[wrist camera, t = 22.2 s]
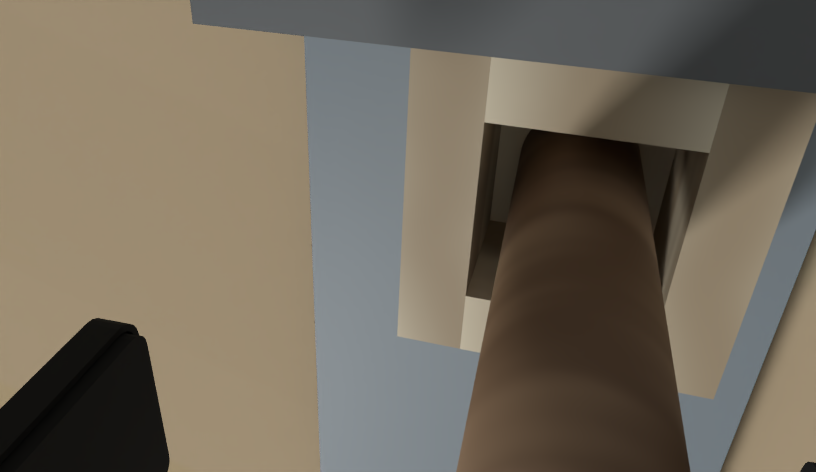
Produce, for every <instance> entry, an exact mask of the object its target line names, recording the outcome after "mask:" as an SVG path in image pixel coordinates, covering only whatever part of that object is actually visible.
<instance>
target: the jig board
mask: <svg viewBox="0 0 816 472" xmlns="http://www.w3.org/2000/svg"><path fill="white" fill-rule="evenodd" d="M190 3H191V12H192V20H193V24H202V25H211V26H220V27H229V28H237V29H246V30H255V31H264V32H273V33H282V34H291V35H300V36H304V42H305V69H306V96H307V122H308V149H309V176H310V203H311V229H312V256H313V283H314V310H315V336H316V363H317V390H318V417H319V443H320V470H321V472H456V470H457V465H458V460H459V456H460V451H461V446H462V441H463V436H464V431H465V426H466V421H467V416H468V411H469V406H470V401H471V396H472V391H473V386H474V381H475V376H476V371H477V366H478V361H479V356H480V353H478V352H473V351H468V350H463V349H458V348H454V347H449V346H444V345H439V344H434V343H429V342H424V341H419V340H414V339H409V338H404V337H399V336H397V330H398V309H399V287H400V266H401V244H402V223H403V202H404V180H405V159H406V138H407V116H408V95H409V73H410V52H411V48H415V49H424V50H433V51H442V52H451V53H460V54H469V55H478V56H487V57H495V58H504V59H513V60H522V61H531V62H540V63H549V64H558V65H567V66H576V67H584V68H593V69H602V70H611V71H620V72H629V73H638V74H647V75H656V76H664V77H673V78H682V79H691V80H700V81H709V82H718V83H727V84H736V85H745V86H753V87H762V88H771V89H780V90H789V91H798V92H807V93H816V0H190ZM815 231H816V123H815V126H814V128H813V131H812V134H811V136H810V139H809V142H808V145H807V147H806V150H805V153H804V155H803V158H802V161H801V164H800V166H799V169H798V172H797V174H796V177H795V180H794V183H793V185H792V188H791V191H790V193H789V196H788V199H787V202H786V204H785V207H784V210H783V212H782V215H781V218H780V220H779V223H778V226H777V229H776V231H775V234H774V237H773V239H772V242H771V245H770V248H769V250H768V253H767V256H766V258H765V261H764V264H763V267H762V269H761V272H760V275H759V277H758V280H757V283H756V286H755V288H754V291H753V294H752V296H751V299H750V302H749V304H748V307H747V310H746V313H745V315H744V318H743V321H742V323H741V326H740V329H739V332H738V334H737V337H736V340H735V342H734V345H733V348H732V351H731V353H730V356H729V359H728V361H727V364H726V367H725V370H724V372H723V375H722V378H721V380H720V383H719V386H718V389H717V391H716V394H715V397H714V399H708V398H703V397H698V396H693V395H688V394H683V393H678V396H679V402H680V408H681V415H682V421H683V427H684V434H685V440H686V446H687V453H688V459H689V465H690V472H720V471H721V468H722V465H723V463H724V460H725V458H726V455H727V453H728V450H729V448H730V445H731V443H732V440H733V438H734V435H735V433H736V430H737V428H738V425H739V423H740V420H741V417H742V415H743V412H744V410H745V407H746V405H747V402H748V400H749V397H750V395H751V392H752V390H753V387H754V385H755V382H756V380H757V377H758V375H759V372H760V369H761V367H762V364H763V362H764V359H765V357H766V354H767V352H768V349H769V347H770V344H771V342H772V339H773V337H774V334H775V332H776V329H777V327H778V324H779V321H780V319H781V316H782V314H783V311H784V309H785V306H786V304H787V301H788V299H789V296H790V294H791V291H792V289H793V286H794V284H795V281H796V279H797V276H798V273H799V271H800V268H801V266H802V263H803V261H804V258H805V256H806V253H807V251H808V248H809V246H810V243H811V241H812V238H813V236H814V233H815Z"/></svg>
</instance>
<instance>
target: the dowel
mask: <svg viewBox="0 0 816 472" xmlns="http://www.w3.org/2000/svg"><path fill="white" fill-rule="evenodd" d="M456 472H690V465H689V459H688V453H687V446H686V440H685V434H684V427H683V421H682V415H681V408H680V402H679V396H678V389H677V383H676V377H675V370H674V364H673V358H672V351H671V345H670V339H669V332H668V326H667V320H666V313H665V307H664V301H663V294H662V288H661V282H660V275H659V269H658V263H657V256H656V250H655V244H654V237H653V231H652V225H651V218H650V212H649V206H648V199H647V193H646V187H645V180H644V174H643V168H642V161H641V155H640V149H639V145H638V143H632V142H625V141H617V140H610V139H603V138H595V137H588V136H581V135H573V134H566V133H559V132H551V131H544V130H537V129H531V130H530V132H529V133H528V135H527V137H526V138H525V140H524V143H523V145H522V148H521V153H520V158H519V163H518V168H517V173H516V178H515V183H514V188H513V193H512V198H511V203H510V208H509V213H508V218H507V223H506V228H505V232H504V237H503V242H502V247H501V252H500V257H499V262H498V267H497V272H496V277H495V282H494V287H493V292H492V297H491V302H490V307H489V312H488V317H487V322H486V327H485V332H484V337H483V342H482V346H481V351H480V356H479V361H478V366H477V371H476V376H475V381H474V386H473V391H472V396H471V401H470V406H469V411H468V416H467V421H466V426H465V431H464V436H463V441H462V446H461V451H460V456H459V460H458V465H457V470H456Z"/></svg>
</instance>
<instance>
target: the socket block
mask: <svg viewBox="0 0 816 472" xmlns="http://www.w3.org/2000/svg"><path fill="white" fill-rule="evenodd" d="M815 123H816V93H807V92H798V91H789V90H780V89H771V88H762V87H753V86H745V85H736V84H727V83H718V82H709V81H700V80H691V79H682V78H673V77H664V76H656V75H647V74H638V73H629V72H620V71H611V70H602V69H593V68H584V67H576V66H567V65H558V64H549V63H540V62H531V61H522V60H513V59H504V58H495V57H487V56H478V55H469V54H460V53H451V52H442V51H433V50H424V49H415V48H411V52H410V73H409V95H408V116H407V138H406V159H405V180H404V202H403V223H402V244H401V266H400V287H399V309H398V330H397V336H399V337H404V338H409V339H414V340H419V341H424V342H429V343H434V344H439V345H444V346H449V347H454V348H458V349H463V350H468V351H473V352H478V353H480V351H481V346H482V342H483V337H484V332H485V327H486V322H487V317H488V312H489V307H490V302H491V297H492V292H493V287H494V282H495V277H496V272H497V267H498V262H499V257H500V252H501V247H502V242H503V237H504V232H505V228H506V223H507V218H508V213H509V208H510V203H511V198H512V193H513V188H514V183H515V178H516V173H517V168H518V163H519V158H520V153H521V148H522V145H523V143H524V140H525V138H526V137H527V135H528V133H529V132H530V130H531V129H537V130H544V131H551V132H559V133H566V134H573V135H581V136H588V137H595V138H603V139H610V140H617V141H625V142H632V143H638V145H639V149H640V155H641V161H642V168H643V174H644V180H645V187H646V193H647V199H648V206H649V212H650V218H651V225H652V231H653V237H654V244H655V250H656V256H657V263H658V269H659V275H660V282H661V288H662V294H663V301H664V307H665V313H666V320H667V326H668V332H669V339H670V345H671V351H672V358H673V364H674V370H675V377H676V383H677V389H678V393H683V394H688V395H693V396H698V397H703V398H708V399H714V397H715V394H716V391H717V389H718V386H719V383H720V380H721V378H722V375H723V372H724V370H725V367H726V364H727V361H728V359H729V356H730V353H731V351H732V348H733V345H734V342H735V340H736V337H737V334H738V332H739V329H740V326H741V323H742V321H743V318H744V315H745V313H746V310H747V307H748V304H749V302H750V299H751V296H752V294H753V291H754V288H755V286H756V283H757V280H758V277H759V275H760V272H761V269H762V267H763V264H764V261H765V258H766V256H767V253H768V250H769V248H770V245H771V242H772V239H773V237H774V234H775V231H776V229H777V226H778V223H779V220H780V218H781V215H782V212H783V210H784V207H785V204H786V202H787V199H788V196H789V193H790V191H791V188H792V185H793V183H794V180H795V177H796V174H797V172H798V169H799V166H800V164H801V161H802V158H803V155H804V153H805V150H806V147H807V145H808V142H809V139H810V136H811V134H812V131H813V128H814V126H815Z"/></svg>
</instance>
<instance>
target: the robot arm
mask: <svg viewBox="0 0 816 472" xmlns="http://www.w3.org/2000/svg"><path fill="white" fill-rule="evenodd" d="M168 467H169V453H168V448H167V442H166V437H165V432H164V427H163V422H162V417H161V412H160V407H159V402H158V397H157V392H156V387H155V381H154V376H153V371H152V366H151V361H150V356H149V351H148V346H147V342H146V339H145V338H144V337H143V336H139V333H138V331H137V328H136V327H135V326H134V325H131V324H127V323H122V322H116V321H111V320H105V319H100V318H96V319H92V320H91V321H89V322H88V323H87V324H86V325H85V326H84V327H83V328H82V329H81V330H80V331H79V332H78V333H77V334H76V335H75V336H74V337H73V338H72V339H71V340H70V341H68V342H67V343H66V344H65V345H64V346H63V347H62V348H61V349H60V350H59V351H58V352H57V353H56V354H55V355H54V356H53V357H52V358H51V359H50V360H49V361H48V362H47V363H46V364H45V365H44V366H43V367H42V368H41V369H40V370H39V371H38V372H37V373H36V374H35V375H34V376H33V377H32V378H31V379H30V380H29V381H28V382H27V383H26V384H25V385H24V386H23V387H22V388H21V389H20V390H19V391H18V392H17V393H16V394H15V395H14V396H13V397H12V398H11V399H10V400H9V401H8V402H7V403H6V404H5V405H4V406H3V407H2V408H1V409H0V472H167V471H168ZM801 472H816V463H813V462H807V463H805V465H804V466H803V468H802V469H801Z"/></svg>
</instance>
